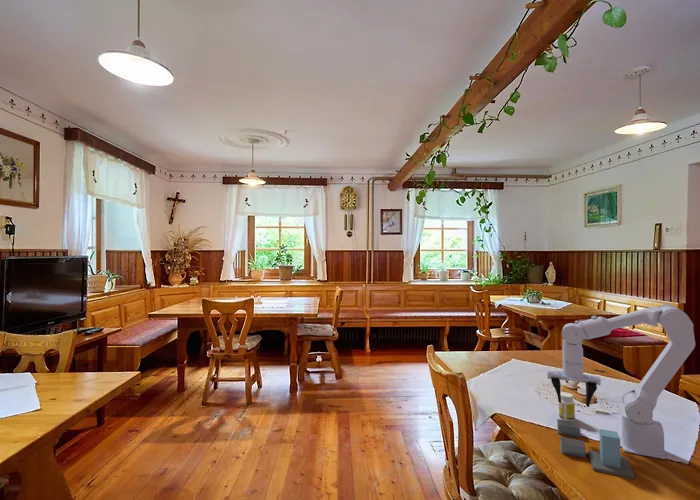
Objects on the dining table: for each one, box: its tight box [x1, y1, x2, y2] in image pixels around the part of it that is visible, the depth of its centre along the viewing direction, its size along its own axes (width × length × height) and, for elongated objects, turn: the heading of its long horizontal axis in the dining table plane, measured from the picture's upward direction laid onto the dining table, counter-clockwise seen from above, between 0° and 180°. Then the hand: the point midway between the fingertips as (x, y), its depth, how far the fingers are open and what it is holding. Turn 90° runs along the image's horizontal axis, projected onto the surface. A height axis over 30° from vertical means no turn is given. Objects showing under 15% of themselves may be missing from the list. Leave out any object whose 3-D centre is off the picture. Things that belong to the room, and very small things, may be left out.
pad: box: [587, 449, 635, 480], centre depth 99 cm, size 9×9×1 cm
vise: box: [556, 418, 587, 459], centre depth 112 cm, size 6×19×3 cm, turn 154°
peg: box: [599, 428, 621, 468], centre depth 99 cm, size 4×4×8 cm
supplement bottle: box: [558, 391, 576, 422], centre depth 126 cm, size 5×5×8 cm
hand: (573, 403), depth 116 cm, fingers open, 7 cm apart
